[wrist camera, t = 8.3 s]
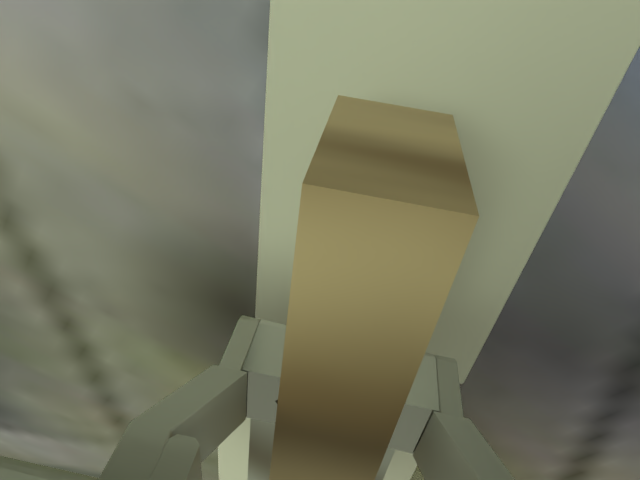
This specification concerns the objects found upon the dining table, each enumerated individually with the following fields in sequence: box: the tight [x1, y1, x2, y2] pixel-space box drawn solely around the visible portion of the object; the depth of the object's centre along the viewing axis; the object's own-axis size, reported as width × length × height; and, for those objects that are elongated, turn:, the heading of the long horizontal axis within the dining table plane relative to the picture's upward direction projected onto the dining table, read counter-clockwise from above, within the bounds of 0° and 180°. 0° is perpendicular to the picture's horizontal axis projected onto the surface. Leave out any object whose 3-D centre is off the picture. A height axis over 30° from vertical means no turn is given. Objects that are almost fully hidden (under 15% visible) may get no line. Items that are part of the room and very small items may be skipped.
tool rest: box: [255, 0, 640, 384], centre depth 13 cm, size 20×9×1 cm, turn 173°
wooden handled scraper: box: [247, 95, 479, 480], centre depth 13 cm, size 17×5×4 cm, turn 173°
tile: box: [218, 418, 417, 480], centre depth 24 cm, size 2×10×8 cm
